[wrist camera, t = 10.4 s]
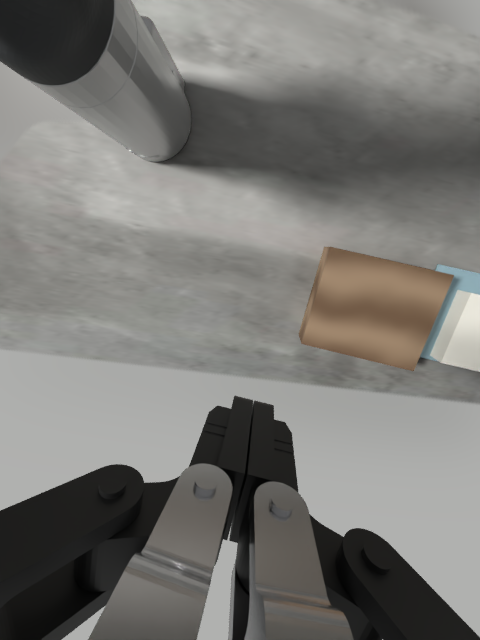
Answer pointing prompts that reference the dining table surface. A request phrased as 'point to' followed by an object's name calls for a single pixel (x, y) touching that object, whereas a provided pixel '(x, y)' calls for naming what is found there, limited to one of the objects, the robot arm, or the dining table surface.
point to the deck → (372, 307)
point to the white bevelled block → (460, 333)
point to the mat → (450, 301)
